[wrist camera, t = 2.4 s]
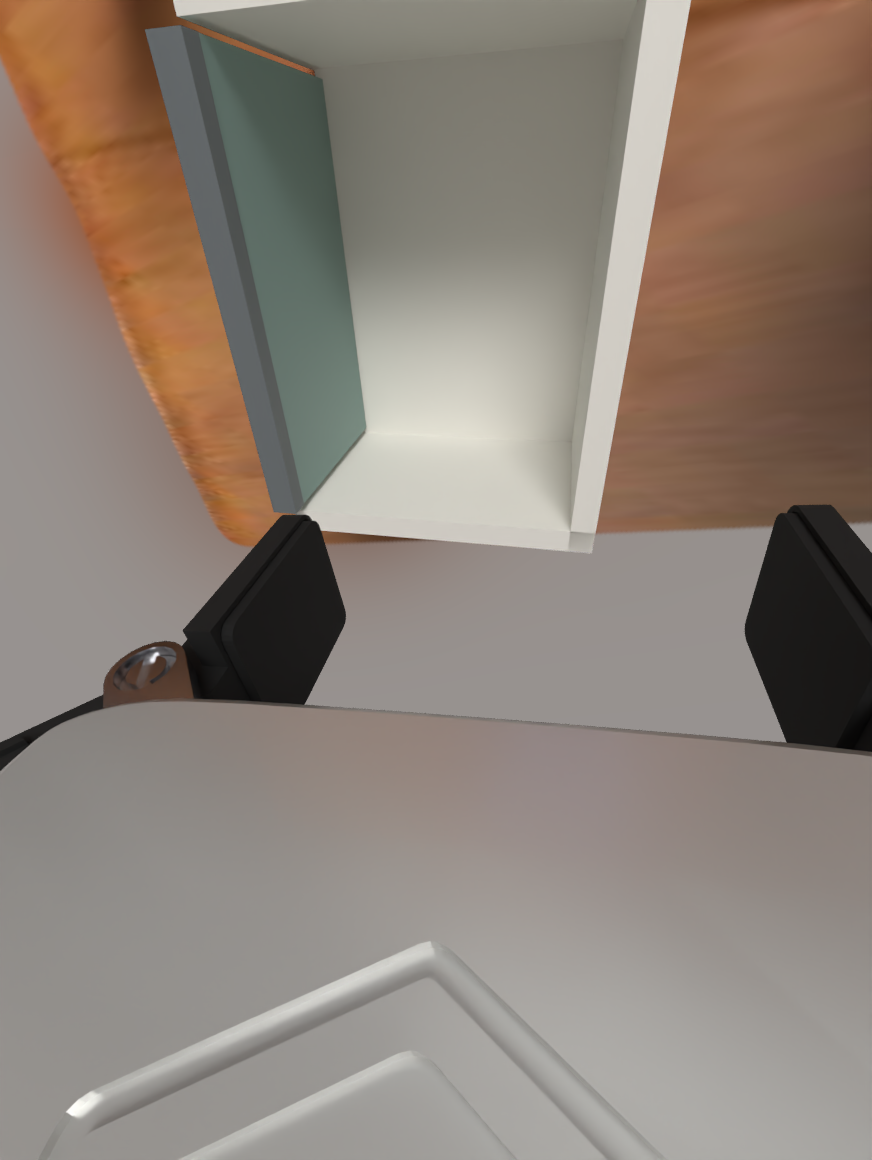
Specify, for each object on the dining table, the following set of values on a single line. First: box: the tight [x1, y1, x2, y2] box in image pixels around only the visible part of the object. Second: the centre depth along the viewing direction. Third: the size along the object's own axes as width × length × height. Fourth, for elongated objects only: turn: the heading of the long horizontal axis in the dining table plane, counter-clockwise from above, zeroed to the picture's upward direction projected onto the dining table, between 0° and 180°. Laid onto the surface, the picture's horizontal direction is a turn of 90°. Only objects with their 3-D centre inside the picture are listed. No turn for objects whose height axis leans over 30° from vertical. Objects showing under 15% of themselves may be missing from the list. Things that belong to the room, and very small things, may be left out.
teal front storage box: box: [173, 0, 691, 553], centre depth 26 cm, size 16×21×12 cm
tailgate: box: [145, 25, 366, 514], centre depth 26 cm, size 1×18×12 cm, turn 2°
